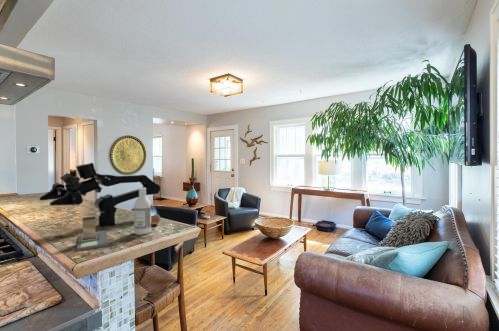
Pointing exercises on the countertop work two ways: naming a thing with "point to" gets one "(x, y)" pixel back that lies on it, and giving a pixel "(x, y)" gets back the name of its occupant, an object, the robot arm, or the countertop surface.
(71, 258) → the countertop surface
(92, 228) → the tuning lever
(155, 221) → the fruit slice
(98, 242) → the base
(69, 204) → the robot arm
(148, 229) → the bath foam
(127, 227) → the countertop surface
